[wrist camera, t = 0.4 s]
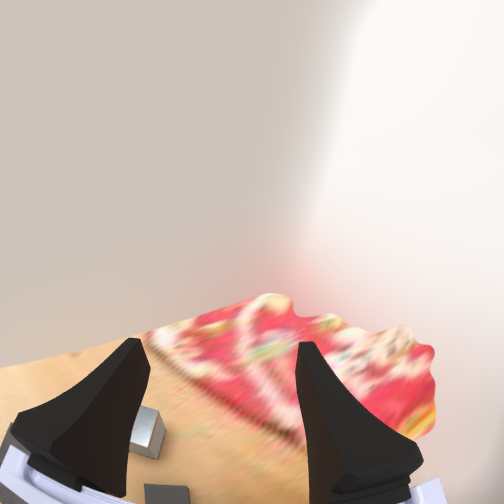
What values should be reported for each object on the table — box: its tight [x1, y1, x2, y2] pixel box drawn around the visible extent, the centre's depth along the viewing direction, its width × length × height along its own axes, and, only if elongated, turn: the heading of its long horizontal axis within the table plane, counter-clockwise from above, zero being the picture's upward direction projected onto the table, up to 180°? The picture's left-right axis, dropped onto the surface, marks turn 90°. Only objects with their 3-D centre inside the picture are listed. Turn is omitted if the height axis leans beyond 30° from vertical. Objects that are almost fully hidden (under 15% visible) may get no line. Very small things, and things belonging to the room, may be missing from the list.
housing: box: [129, 405, 166, 459], centre depth 21 cm, size 4×7×6 cm, turn 84°
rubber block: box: [144, 484, 190, 504], centre depth 16 cm, size 4×4×3 cm
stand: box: [0, 422, 31, 504], centre depth 11 cm, size 11×11×2 cm
